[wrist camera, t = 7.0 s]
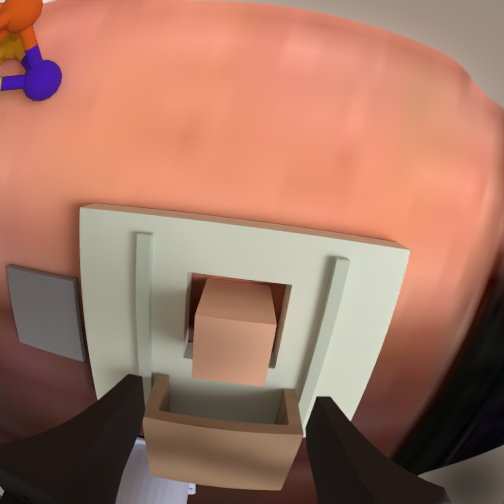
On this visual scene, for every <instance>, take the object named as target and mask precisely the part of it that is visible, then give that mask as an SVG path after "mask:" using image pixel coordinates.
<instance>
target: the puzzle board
mask: <svg viewBox="0 0 504 504" xmlns="http://www.w3.org/2000/svg"><path fill="white" fill-rule="evenodd" d="M410 251H411V250H409V249H408V248H406V247H404V246H403V245H401V244H399V243H398V242H393V241H387V240H381V239H375V238H369V237H363V236H356V235H350V234H343V233H337V232H330V231H323V230H316V229H310V228H303V227H296V226H288V225H281V224H274V223H267V222H259V221H251V220H244V219H236V218H228V217H220V216H212V215H203V214H195V213H186V212H177V211H169V210H159V209H150V208H140V207H131V206H121V205H110V204H100V203H93V204H90V205H87V206H83V207H80V269H81V286H82V299H83V310H84V319H85V328H86V336H87V343H88V350H89V356H90V363H91V368H92V374H93V379H94V385H95V390H96V394H97V399H98V400H99V399H100V398H101V397H102V396H103V395H105V394H106V393H107V392H108V391H109V390H110V389H112V388H113V387H114V386H115V385H116V384H117V383H118V382H119V381H120V380H122V379H123V378H124V377H125V376H126V375H127V374H133V375H138V376H142V377H143V390H144V400H145V406H146V404H147V401H148V398H149V396H150V393H151V390H152V388H153V385H154V383H155V380H156V378H157V375H158V374H163V375H169V383H170V412H171V413H176V414H182V415H188V416H195V417H202V418H209V419H217V420H226V421H236V422H246V423H259V424H275V420H276V416H277V413H278V409H279V405H280V402H281V398H282V394H283V390H284V389H293V390H295V391H296V396H297V401H298V406H299V412H300V417H301V422H302V428H303V433H304V435H303V437H306V431H305V427H306V425H307V422H308V419H309V416H310V414H311V411H312V408H313V405H314V403H315V400H316V397H317V396H331V398H332V399H333V400H334V401H335V403H336V404H337V405H338V407H339V408H340V409H341V410H342V412H343V413H344V414H345V415H346V417H347V418H348V419H349V420H350V421H351V419H352V417H353V415H354V413H355V410H356V408H357V406H358V404H359V402H360V399H361V397H362V395H363V392H364V390H365V388H366V385H367V383H368V380H369V378H370V375H371V373H372V370H373V368H374V365H375V363H376V360H377V358H378V355H379V352H380V350H381V347H382V344H383V341H384V338H385V336H386V333H387V330H388V327H389V324H390V321H391V318H392V315H393V312H394V308H395V305H396V302H397V299H398V295H399V292H400V288H401V285H402V281H403V278H404V274H405V270H406V267H407V263H408V259H409V255H410ZM192 272H193V273H200V274H208V275H215V276H223V277H231V278H239V279H247V280H255V281H263V282H272V283H280V284H286V288H285V293H284V298H283V304H282V309H281V314H280V319H279V324H278V329H277V334H276V339H275V344H274V349H273V352H271V356H270V361H269V366H268V371H267V375H266V380H265V385H264V386H255V385H245V384H235V383H226V382H218V381H210V380H203V379H196V378H192V358H193V342H188V333H189V315H190V298H191V284H192Z"/></svg>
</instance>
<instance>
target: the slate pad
mask: <svg viewBox="0 0 504 504" xmlns="http://www.w3.org/2000/svg"><path fill="white" fill-rule="evenodd" d="M6 269H7V277H8V284H9V291H10V297H11V303H12V308H13V313H14V318H15V323H16V328H17V332H18V336H19V341H20V342H22V343H25V344H28V345H30V346H33V347H36V348H39V349H42V350H45V351H48V352H51V353H55V354H58V355H61V356H64V357H68V358H71V359H75V360H78V361H82V362H84V361H85V359H86V353H85V346H84V340H83V332H82V324H81V316H80V306H79V296H78V283H77V278H72V277H67V276H62V275H57V274H52V273H47V272H43V271H38V270H33V269H29V268H24V267H20V266H15V265H11V264H10V265H9V266H7V267H6Z"/></svg>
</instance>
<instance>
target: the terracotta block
mask: <svg viewBox="0 0 504 504" xmlns="http://www.w3.org/2000/svg"><path fill="white" fill-rule="evenodd" d="M276 326H277V323H276V317H275V311H274V305H273V300H272V294H271V288H270V286H269V285H261V284H253V283H245V282H237V281H229V280H221V279H214V278H207V281H206V284H205V287H204V290H203V293H202V296H201V299H200V302H199V305H198V308H197V311H196V314H195V323H194V340H193V358H192V378H196V379H203V380H210V381H218V382H226V383H235V384H245V385H255V386H264V385H265V380H266V375H267V371H268V366H269V361H270V356H271V351H272V346H273V341H274V337H275V331H276Z"/></svg>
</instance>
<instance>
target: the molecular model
mask: <svg viewBox="0 0 504 504" xmlns="http://www.w3.org/2000/svg"><path fill="white" fill-rule="evenodd" d="M42 6H43V2H42V0H6V1H5V2H4V3H0V65H1V63H2V62H3V61H4V60H5V59H14V58H16V57H17V58H18V60H19V61H20V63H21V64H22V66H23V67H24V68H25V70H26V71H27V72H26V73H25V75H16V76H6V77H0V91H5V90H14V89H23V91H24V93H25V94H26V96H27V97H28V98H30V99H32V100H33V101H42V100H45V99H47V98H50V97H51V96H52V95H53V94H54V93H56V91H57V89H58V87H59V86H60V84H61V78H62V73H61V70H60V67H59V66H58V65H57V64H56V63H55V62H53V61H50V60H42V57H41V54H40V50H39V47H38V44H37V40H36V37H35V33H34V30H33V26H32V25H33V24H34V23H35V21H36V20H37V19H38V17H39V16H40V14H41V11H42Z"/></svg>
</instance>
